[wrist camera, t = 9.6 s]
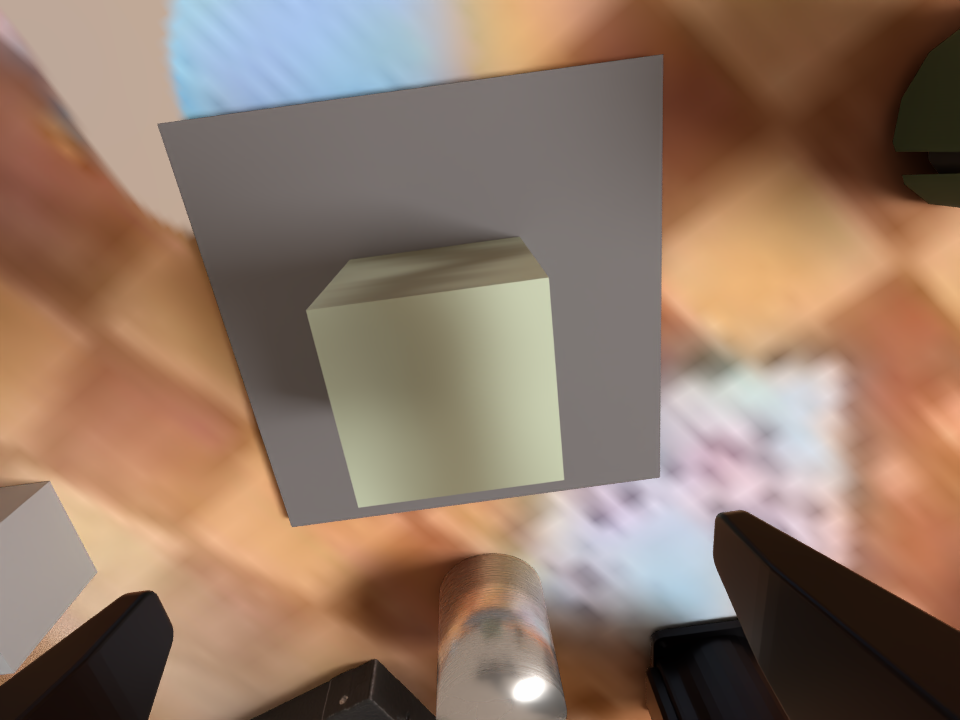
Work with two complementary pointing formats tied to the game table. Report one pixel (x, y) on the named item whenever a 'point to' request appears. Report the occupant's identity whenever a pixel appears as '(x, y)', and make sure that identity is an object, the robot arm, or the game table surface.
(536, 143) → the mat
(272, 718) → the disk drive
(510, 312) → the sage block
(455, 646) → the metal tin
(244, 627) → the game table surface
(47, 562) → the slate block
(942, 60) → the character mug
